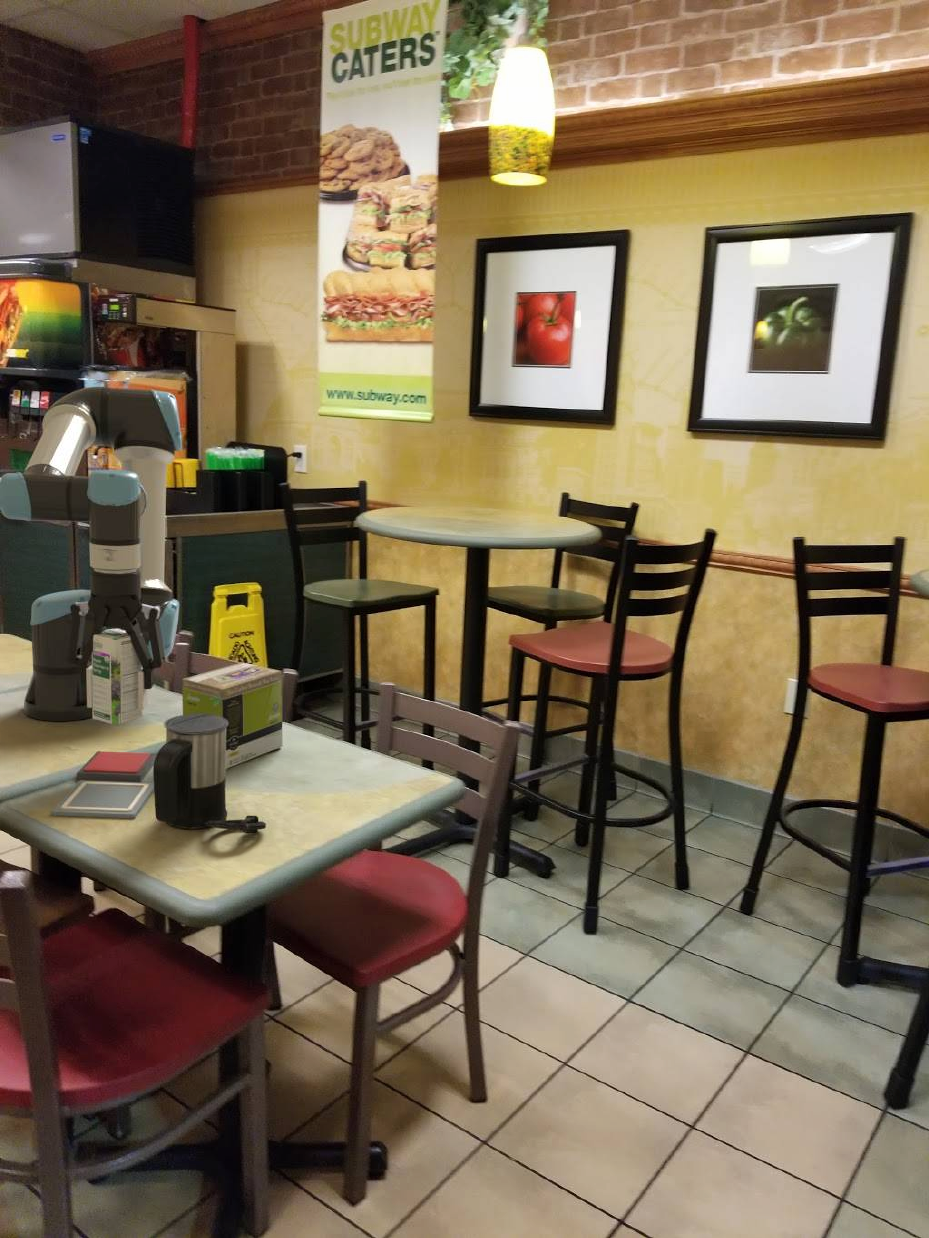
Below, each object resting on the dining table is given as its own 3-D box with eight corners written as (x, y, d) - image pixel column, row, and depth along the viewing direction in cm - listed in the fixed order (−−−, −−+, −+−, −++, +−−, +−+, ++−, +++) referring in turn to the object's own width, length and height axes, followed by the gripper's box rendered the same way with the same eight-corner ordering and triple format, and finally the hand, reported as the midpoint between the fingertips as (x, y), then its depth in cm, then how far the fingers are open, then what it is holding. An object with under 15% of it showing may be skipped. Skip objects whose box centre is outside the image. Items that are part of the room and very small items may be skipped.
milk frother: (172, 803, 142) (172, 711, 139) (276, 807, 143) (278, 715, 140) (146, 844, 128) (145, 743, 125) (260, 848, 129) (262, 748, 126)
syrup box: (91, 719, 151) (88, 633, 148) (119, 709, 156) (118, 626, 153) (116, 726, 149) (114, 639, 145) (144, 717, 154) (143, 632, 150)
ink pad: (97, 757, 158) (97, 749, 158) (157, 760, 159) (157, 751, 159) (76, 779, 149) (76, 771, 148) (140, 782, 149) (140, 773, 149)
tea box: (242, 736, 174) (243, 660, 170) (283, 748, 169) (285, 670, 166) (180, 758, 161) (180, 676, 158) (222, 772, 156) (223, 687, 153)
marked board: (80, 783, 147) (79, 779, 147) (156, 786, 148) (156, 782, 148) (51, 815, 135) (51, 810, 135) (134, 818, 136) (134, 813, 136)
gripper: (40, 569, 142) (45, 710, 148) (174, 577, 144) (175, 716, 149) (58, 561, 150) (62, 696, 155) (186, 568, 151) (186, 701, 156)
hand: (117, 705), depth 152 cm, fingers closed on syrup box, 7 cm apart
